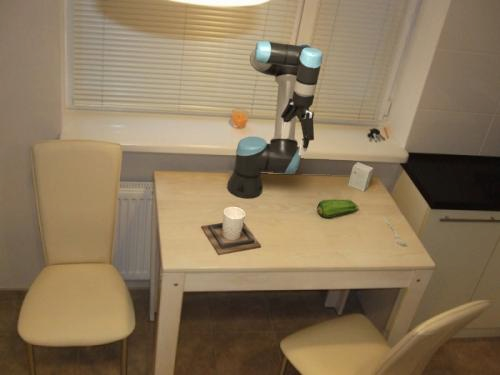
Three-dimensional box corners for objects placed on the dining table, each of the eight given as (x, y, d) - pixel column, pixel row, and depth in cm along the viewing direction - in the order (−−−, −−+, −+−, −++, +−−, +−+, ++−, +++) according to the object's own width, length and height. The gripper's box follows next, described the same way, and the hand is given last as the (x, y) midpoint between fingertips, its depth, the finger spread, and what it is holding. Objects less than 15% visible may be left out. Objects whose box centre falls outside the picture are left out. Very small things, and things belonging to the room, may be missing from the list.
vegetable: (319, 197, 220) (358, 192, 229) (311, 206, 226) (350, 200, 235) (326, 213, 217) (365, 207, 226) (318, 221, 222) (357, 215, 231)
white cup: (217, 229, 204) (220, 207, 199) (237, 227, 206) (241, 205, 201) (224, 242, 197) (227, 219, 192) (244, 240, 200) (248, 217, 195)
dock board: (201, 227, 204) (201, 222, 203) (241, 221, 212) (242, 216, 211) (218, 255, 192) (219, 249, 191) (260, 247, 199) (261, 242, 198)
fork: (385, 213, 234) (386, 210, 233) (407, 248, 213) (408, 244, 213) (378, 213, 233) (379, 209, 232) (399, 248, 213) (400, 244, 212)
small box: (368, 187, 251) (374, 167, 245) (363, 192, 247) (369, 172, 241) (352, 181, 254) (357, 161, 249) (347, 185, 250) (353, 165, 244)
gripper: (331, 106, 185) (318, 161, 195) (295, 79, 203) (285, 130, 214) (313, 107, 181) (301, 163, 192) (278, 80, 200) (269, 132, 211)
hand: (293, 146), depth 203 cm, fingers open, 13 cm apart
